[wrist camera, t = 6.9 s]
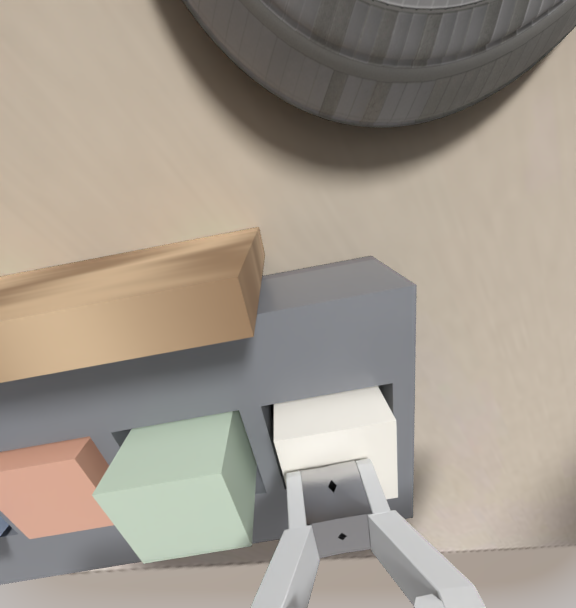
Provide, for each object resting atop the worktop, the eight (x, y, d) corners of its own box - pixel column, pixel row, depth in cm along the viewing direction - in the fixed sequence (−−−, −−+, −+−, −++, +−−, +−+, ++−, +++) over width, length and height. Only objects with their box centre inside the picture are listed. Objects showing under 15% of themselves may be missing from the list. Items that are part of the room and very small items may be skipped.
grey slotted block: (371, 255, 12) (416, 285, 8) (381, 444, 16) (412, 517, 13) (-125, 348, 12) (-297, 416, 9) (22, 505, 17) (-47, 592, 13)
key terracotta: (127, 387, 13) (74, 458, 9) (158, 445, 14) (122, 523, 11) (47, 402, 13) (-34, 477, 9) (87, 457, 14) (29, 539, 11)
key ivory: (361, 355, 12) (396, 420, 8) (366, 420, 13) (397, 497, 10) (273, 370, 12) (273, 441, 9) (289, 433, 14) (294, 514, 10)
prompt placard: (259, 226, 11) (237, 277, 5) (265, 258, 11) (255, 343, 5) (-63, 288, 11) (-508, 417, 5) (-42, 316, 12) (-418, 465, 5)
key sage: (236, 388, 11) (220, 473, 8) (257, 452, 13) (251, 545, 9) (146, 404, 11) (91, 494, 8) (177, 465, 13) (143, 563, 10)
